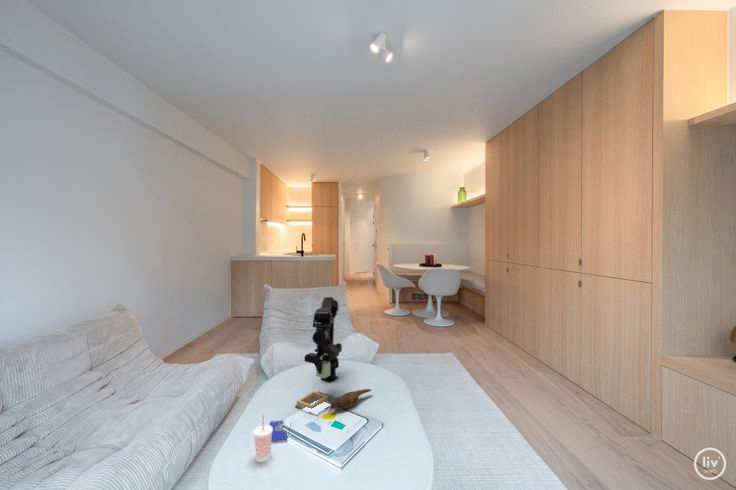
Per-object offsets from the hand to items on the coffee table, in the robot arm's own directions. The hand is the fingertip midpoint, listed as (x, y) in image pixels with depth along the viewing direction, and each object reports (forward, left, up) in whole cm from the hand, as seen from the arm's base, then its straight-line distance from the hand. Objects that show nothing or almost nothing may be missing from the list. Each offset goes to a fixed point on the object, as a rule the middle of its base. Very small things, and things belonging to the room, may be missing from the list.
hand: (323, 372), depth 144 cm
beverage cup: (+41, +9, -12) cm, 43 cm away
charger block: (0, 0, -2) cm, 2 cm away
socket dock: (+5, +1, -12) cm, 13 cm away
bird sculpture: (-2, +14, -12) cm, 19 cm away
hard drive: (+29, +3, -13) cm, 32 cm away
